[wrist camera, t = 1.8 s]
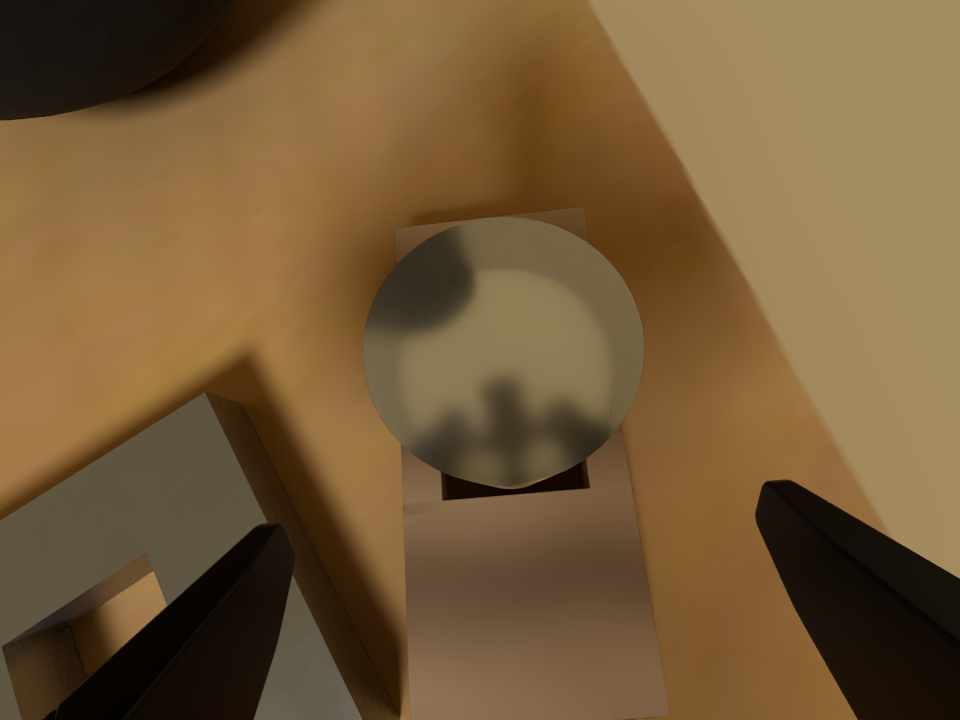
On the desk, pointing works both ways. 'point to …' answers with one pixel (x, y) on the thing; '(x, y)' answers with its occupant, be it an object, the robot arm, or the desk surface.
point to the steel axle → (503, 351)
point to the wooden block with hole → (528, 586)
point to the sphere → (93, 49)
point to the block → (170, 565)
